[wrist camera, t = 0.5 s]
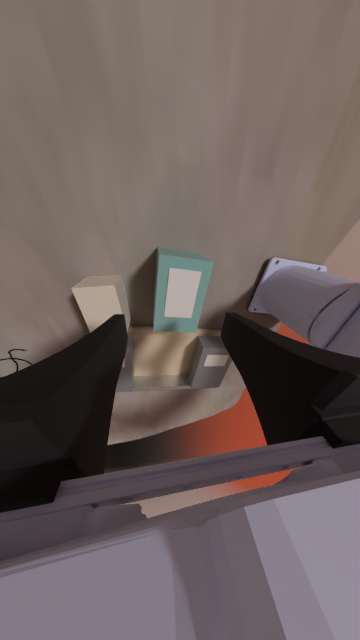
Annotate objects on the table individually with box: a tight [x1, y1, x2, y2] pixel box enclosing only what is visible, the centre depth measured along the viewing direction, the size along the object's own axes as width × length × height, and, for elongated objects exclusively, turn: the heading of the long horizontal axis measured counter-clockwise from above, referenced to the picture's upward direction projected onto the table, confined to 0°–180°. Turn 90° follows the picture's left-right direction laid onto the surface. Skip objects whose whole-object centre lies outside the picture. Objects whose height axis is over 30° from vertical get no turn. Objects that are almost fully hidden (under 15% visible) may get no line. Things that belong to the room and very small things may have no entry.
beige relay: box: [71, 275, 131, 333], centre depth 18 cm, size 4×6×4 cm, turn 1°
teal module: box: [153, 247, 214, 333], centre depth 17 cm, size 5×8×6 cm, turn 171°
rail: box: [126, 374, 216, 392], centre depth 27 cm, size 21×1×2 cm, turn 81°
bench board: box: [89, 325, 222, 376], centre depth 26 cm, size 22×12×1 cm, turn 81°
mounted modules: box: [115, 333, 232, 392], centre depth 24 cm, size 21×10×3 cm, turn 81°
